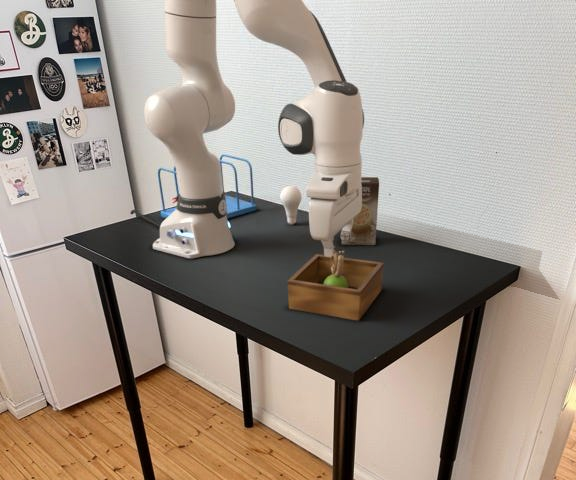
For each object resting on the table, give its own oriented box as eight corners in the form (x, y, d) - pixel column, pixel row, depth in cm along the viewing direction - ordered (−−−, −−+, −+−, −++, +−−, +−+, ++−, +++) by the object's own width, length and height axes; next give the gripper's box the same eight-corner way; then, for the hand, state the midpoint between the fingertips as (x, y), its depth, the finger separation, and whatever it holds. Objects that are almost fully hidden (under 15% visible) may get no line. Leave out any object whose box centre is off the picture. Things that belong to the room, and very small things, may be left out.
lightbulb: (278, 227, 161) (277, 188, 155) (285, 220, 166) (283, 183, 160) (299, 228, 159) (297, 189, 153) (304, 221, 164) (303, 183, 158)
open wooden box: (288, 308, 117) (286, 280, 114) (316, 280, 129) (316, 253, 125) (359, 321, 111) (360, 292, 108) (382, 290, 123) (383, 262, 119)
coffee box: (341, 245, 147) (342, 183, 138) (341, 237, 152) (342, 176, 143) (376, 245, 146) (379, 182, 137) (375, 237, 151) (378, 176, 142)
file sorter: (192, 230, 162) (184, 176, 153) (160, 218, 173) (152, 166, 164) (257, 210, 175) (254, 159, 167) (224, 200, 186) (219, 151, 177)
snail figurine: (329, 307, 117) (329, 253, 110) (319, 295, 122) (319, 242, 115) (353, 303, 118) (355, 249, 111) (342, 291, 123) (343, 239, 116)
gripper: (341, 164, 115) (341, 230, 122) (302, 190, 99) (304, 263, 107) (370, 166, 112) (368, 232, 120) (334, 192, 97) (334, 267, 105)
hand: (337, 247), depth 113 cm, fingers open, 8 cm apart
